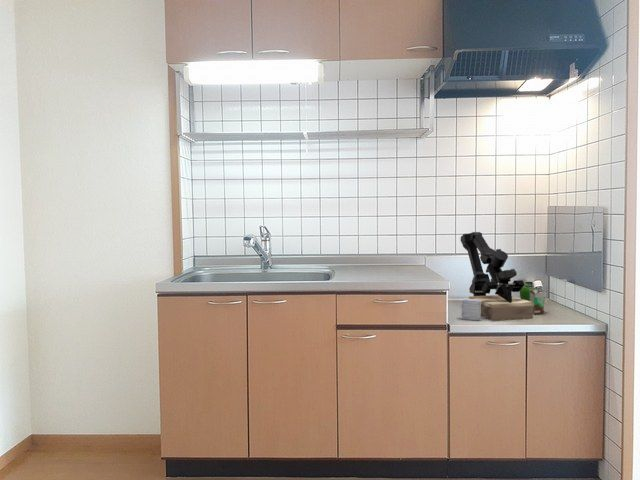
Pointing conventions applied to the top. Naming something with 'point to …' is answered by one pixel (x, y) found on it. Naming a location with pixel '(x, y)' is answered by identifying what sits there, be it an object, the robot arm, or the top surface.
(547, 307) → the top surface
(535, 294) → the food container
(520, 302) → the pale plank
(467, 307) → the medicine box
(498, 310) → the floor platform
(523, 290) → the bell pepper
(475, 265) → the robot arm
